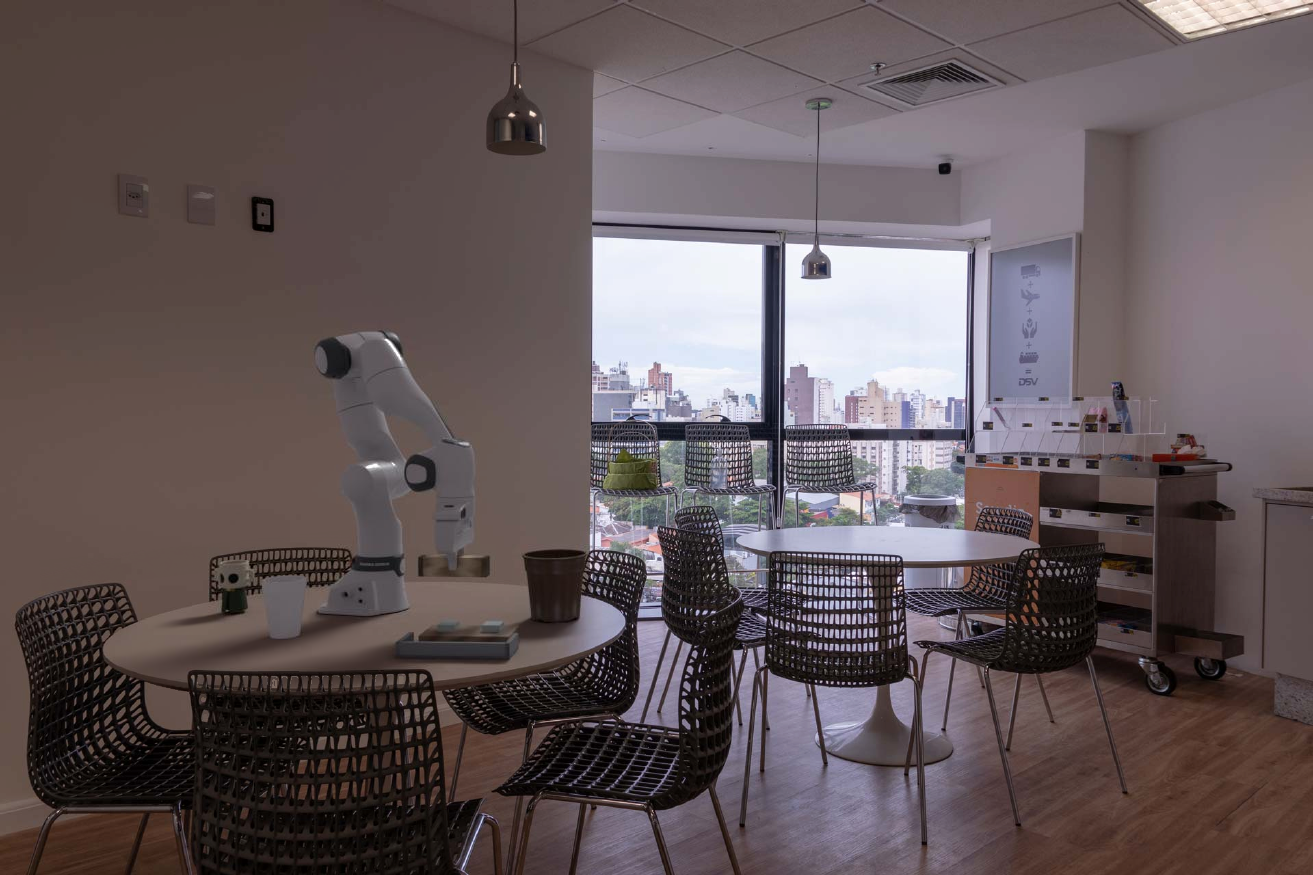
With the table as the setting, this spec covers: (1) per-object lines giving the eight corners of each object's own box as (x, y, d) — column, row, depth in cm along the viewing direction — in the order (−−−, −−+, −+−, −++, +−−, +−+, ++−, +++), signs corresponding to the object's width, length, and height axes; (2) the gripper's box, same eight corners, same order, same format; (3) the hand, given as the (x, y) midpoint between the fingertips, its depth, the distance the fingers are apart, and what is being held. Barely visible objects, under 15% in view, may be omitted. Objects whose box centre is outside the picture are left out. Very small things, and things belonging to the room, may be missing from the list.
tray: (395, 657, 192) (395, 642, 192) (409, 646, 201) (409, 631, 201) (509, 659, 191) (509, 643, 191) (518, 648, 200) (518, 633, 200)
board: (418, 647, 201) (418, 635, 201) (432, 635, 211) (432, 624, 211) (509, 648, 200) (509, 636, 200) (518, 636, 210) (518, 625, 210)
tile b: (481, 631, 204) (481, 625, 204) (486, 627, 208) (486, 621, 208) (499, 632, 204) (499, 625, 204) (503, 627, 208) (503, 621, 208)
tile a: (437, 631, 205) (437, 624, 205) (442, 627, 209) (442, 620, 209) (455, 631, 205) (455, 624, 205) (459, 627, 209) (459, 620, 209)
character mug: (206, 614, 234) (205, 563, 233) (223, 608, 241) (222, 559, 240) (246, 616, 232) (245, 564, 232) (262, 609, 239) (261, 560, 239)
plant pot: (515, 613, 234) (514, 550, 234) (575, 608, 240) (575, 546, 240) (532, 627, 219) (532, 560, 219) (596, 621, 226) (596, 555, 225)
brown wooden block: (418, 576, 214) (418, 557, 214) (422, 573, 218) (422, 554, 217) (486, 577, 213) (486, 557, 213) (489, 574, 217) (489, 555, 217)
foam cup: (264, 642, 206) (263, 584, 205) (261, 633, 214) (260, 577, 214) (309, 637, 210) (308, 580, 210) (304, 628, 218) (303, 574, 218)
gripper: (454, 503, 225) (455, 560, 226) (429, 513, 205) (429, 575, 205) (480, 504, 225) (480, 560, 225) (457, 513, 205) (457, 575, 205)
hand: (456, 567), depth 215 cm, fingers closed on brown wooden block, 3 cm apart
